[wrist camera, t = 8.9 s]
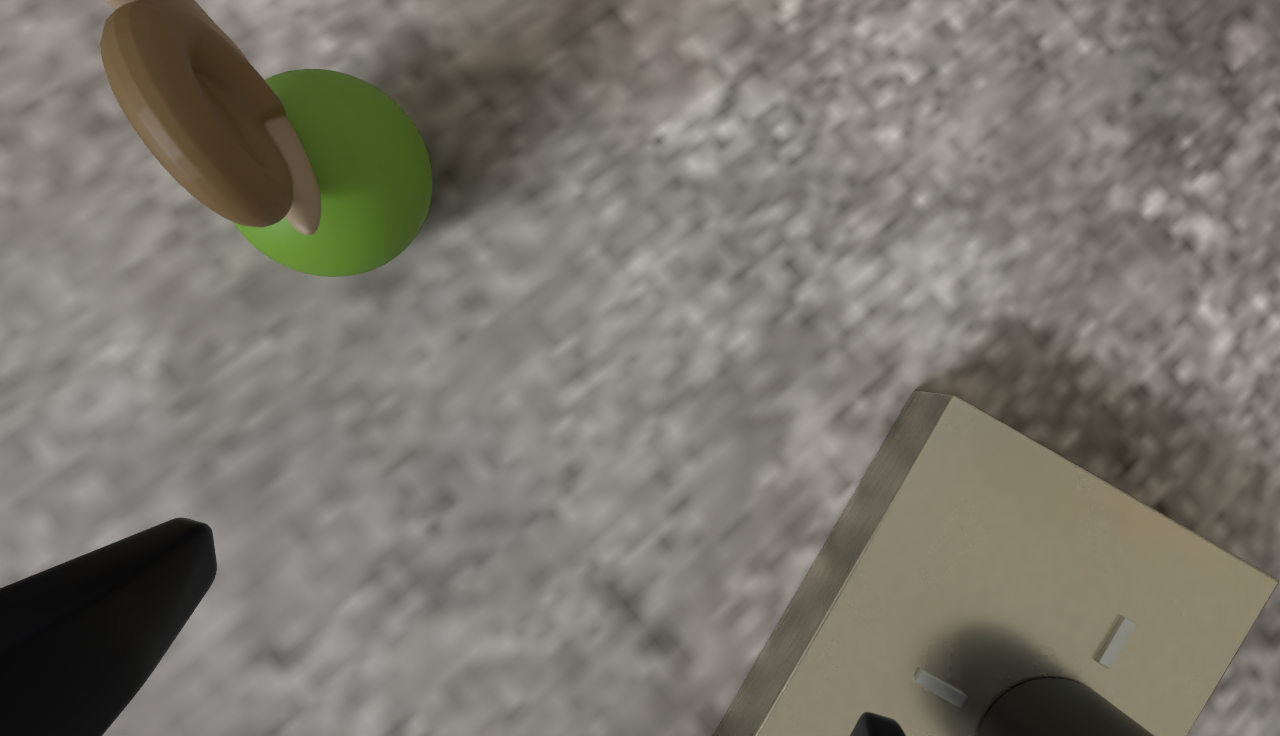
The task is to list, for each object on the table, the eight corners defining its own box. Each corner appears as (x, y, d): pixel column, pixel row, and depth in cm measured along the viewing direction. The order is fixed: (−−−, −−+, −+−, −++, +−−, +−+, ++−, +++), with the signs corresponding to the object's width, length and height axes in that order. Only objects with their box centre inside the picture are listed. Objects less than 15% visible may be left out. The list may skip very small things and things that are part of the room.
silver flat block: (997, 957, 23) (1053, 1054, 19) (686, 778, 23) (692, 846, 20) (1228, 568, 22) (1322, 603, 19) (913, 389, 22) (956, 394, 19)
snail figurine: (385, 50, 22) (81, -302, 10) (486, 231, 23) (298, 87, 11) (233, 136, 23) (-238, -114, 11) (335, 317, 23) (-23, 270, 11)
